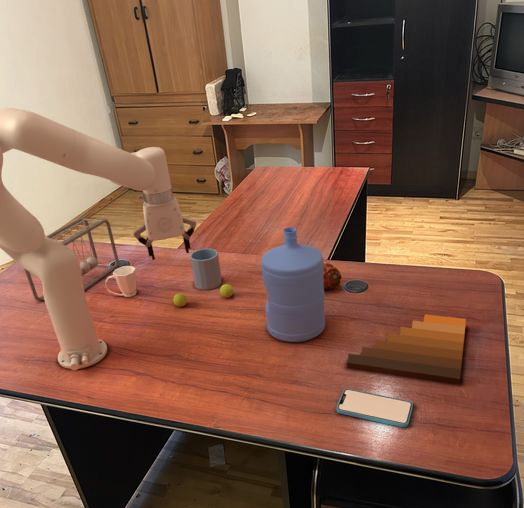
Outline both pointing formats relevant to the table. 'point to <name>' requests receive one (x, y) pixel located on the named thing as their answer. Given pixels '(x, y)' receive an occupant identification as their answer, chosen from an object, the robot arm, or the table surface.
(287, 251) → the water jug
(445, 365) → the pan flute
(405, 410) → the smartphone
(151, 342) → the table surface
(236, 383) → the table surface
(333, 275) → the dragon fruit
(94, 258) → the newton's cradle
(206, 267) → the tumbler
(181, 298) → the plum
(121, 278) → the cup
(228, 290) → the plum
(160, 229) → the robot arm
